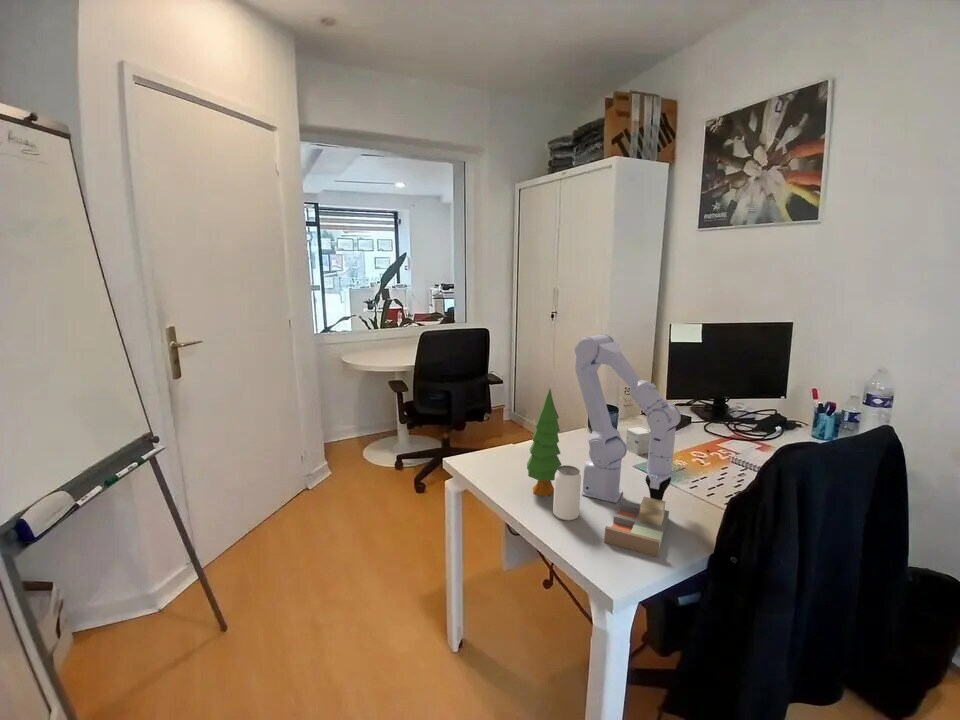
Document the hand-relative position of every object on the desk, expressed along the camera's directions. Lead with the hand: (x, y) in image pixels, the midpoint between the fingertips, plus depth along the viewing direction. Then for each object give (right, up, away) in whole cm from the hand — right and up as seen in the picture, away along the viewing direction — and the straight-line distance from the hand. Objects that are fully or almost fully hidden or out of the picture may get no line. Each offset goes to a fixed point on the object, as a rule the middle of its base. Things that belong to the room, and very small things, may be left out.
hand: (656, 504), depth 119 cm
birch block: (-3, -2, -5) cm, 7 cm away
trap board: (-7, -4, -7) cm, 10 cm away
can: (-23, -3, 0) cm, 23 cm away
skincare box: (+10, +5, +43) cm, 44 cm away
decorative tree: (-27, 0, +12) cm, 30 cm away
